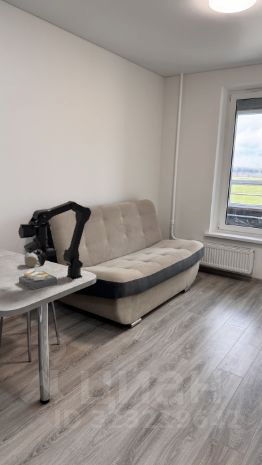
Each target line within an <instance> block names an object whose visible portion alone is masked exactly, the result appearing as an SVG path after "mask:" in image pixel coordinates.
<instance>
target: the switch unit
mask: <svg viewBox="0 0 262 465" xmlns="http://www.w3.org/2000/svg"><path fill="white" fill-rule="evenodd" d="M38 272H39V273H40V275H43V276H45V279H44V280H34V279H30V278H28V277H25V276H24V275H22V276H21V275H20V276H19V277H18V283H20V284H22V285H23V286H25V287H27V288H28V289H30V290H31V291H32V290H37V289H39V288H44V287H47V286H51V285H54V284H57V283H58V280H57V279H58V278H57V276H54V275H52V274H50V273H48V272H45V271H44V270H43V271H38Z"/></svg>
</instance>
